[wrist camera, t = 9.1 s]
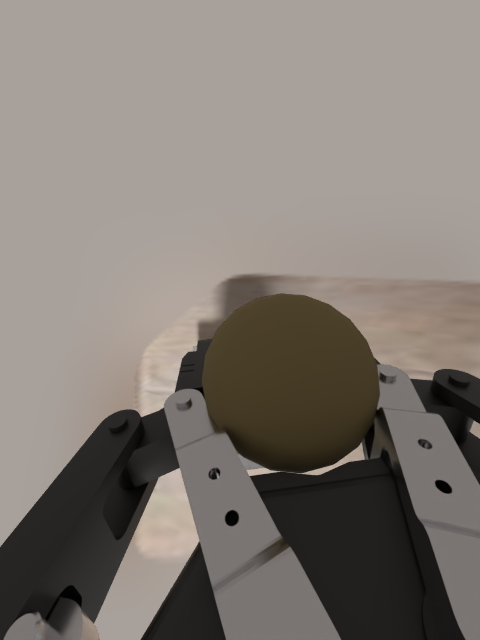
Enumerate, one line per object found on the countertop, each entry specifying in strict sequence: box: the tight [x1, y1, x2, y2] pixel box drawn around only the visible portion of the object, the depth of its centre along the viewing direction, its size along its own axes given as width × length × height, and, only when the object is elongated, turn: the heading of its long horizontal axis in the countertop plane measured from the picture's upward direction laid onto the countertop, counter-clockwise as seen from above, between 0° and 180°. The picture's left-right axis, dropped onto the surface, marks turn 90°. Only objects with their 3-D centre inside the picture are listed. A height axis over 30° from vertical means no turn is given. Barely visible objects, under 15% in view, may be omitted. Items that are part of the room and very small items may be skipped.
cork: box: [202, 294, 380, 473], centre depth 11 cm, size 6×6×11 cm
